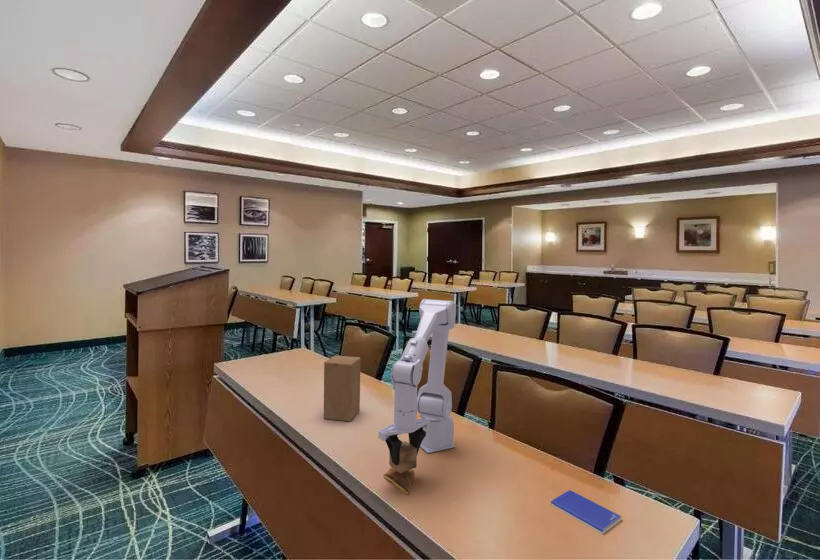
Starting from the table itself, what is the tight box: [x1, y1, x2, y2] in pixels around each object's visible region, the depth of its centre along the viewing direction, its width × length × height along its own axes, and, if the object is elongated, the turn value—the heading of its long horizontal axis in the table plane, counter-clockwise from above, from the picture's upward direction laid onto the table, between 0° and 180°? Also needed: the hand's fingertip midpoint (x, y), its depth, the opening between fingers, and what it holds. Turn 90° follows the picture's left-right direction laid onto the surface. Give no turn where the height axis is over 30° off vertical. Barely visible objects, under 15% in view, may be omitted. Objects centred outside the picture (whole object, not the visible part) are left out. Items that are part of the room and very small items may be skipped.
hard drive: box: [550, 489, 622, 535], centre depth 93 cm, size 2×8×12 cm
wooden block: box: [323, 355, 361, 423], centre depth 144 cm, size 10×10×20 cm
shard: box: [383, 465, 415, 495], centre depth 104 cm, size 11×8×2 cm
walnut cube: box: [388, 440, 418, 473], centre depth 105 cm, size 5×5×5 cm
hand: (404, 460), depth 105 cm, fingers closed on walnut cube, 5 cm apart
